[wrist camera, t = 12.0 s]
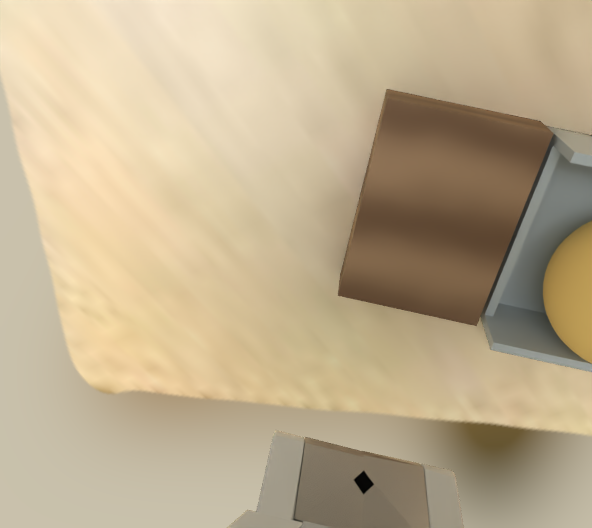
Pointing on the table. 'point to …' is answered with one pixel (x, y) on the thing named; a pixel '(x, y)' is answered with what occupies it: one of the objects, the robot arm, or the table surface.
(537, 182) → the tray
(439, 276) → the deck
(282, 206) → the table surface
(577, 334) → the ball
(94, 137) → the table surface
